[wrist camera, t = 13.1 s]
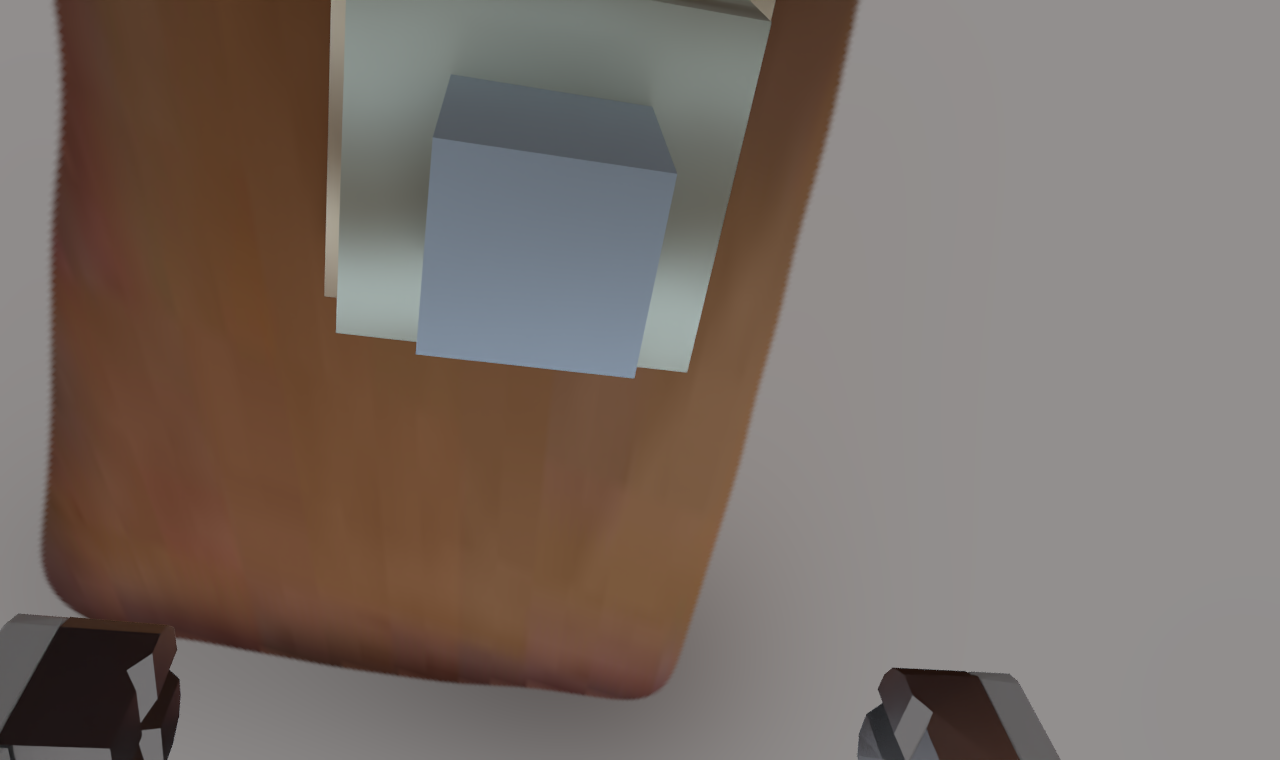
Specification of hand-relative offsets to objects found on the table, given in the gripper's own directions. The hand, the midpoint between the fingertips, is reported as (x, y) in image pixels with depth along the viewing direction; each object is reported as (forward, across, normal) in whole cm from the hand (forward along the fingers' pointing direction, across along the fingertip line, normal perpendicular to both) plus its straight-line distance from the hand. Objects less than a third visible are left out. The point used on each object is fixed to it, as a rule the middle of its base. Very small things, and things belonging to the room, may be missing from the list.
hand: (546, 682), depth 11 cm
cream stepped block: (+24, 0, 0) cm, 25 cm away
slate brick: (+16, 0, 0) cm, 17 cm away
